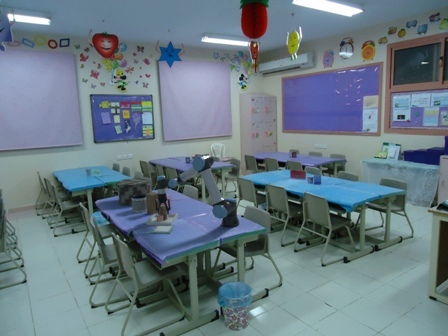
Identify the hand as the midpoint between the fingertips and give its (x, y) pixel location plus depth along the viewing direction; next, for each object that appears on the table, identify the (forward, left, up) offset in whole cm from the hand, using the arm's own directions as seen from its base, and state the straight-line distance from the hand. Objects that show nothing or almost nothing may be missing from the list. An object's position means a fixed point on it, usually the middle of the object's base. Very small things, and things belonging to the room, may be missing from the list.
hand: (163, 217), depth 296 cm
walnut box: (0, 0, -1) cm, 1 cm away
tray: (0, +4, -2) cm, 5 cm away
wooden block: (+16, -21, -3) cm, 27 cm away
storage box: (+51, -66, -3) cm, 84 cm away
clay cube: (0, +10, -2) cm, 11 cm away
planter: (+33, -30, -3) cm, 45 cm away
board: (-7, +26, -2) cm, 27 cm away
